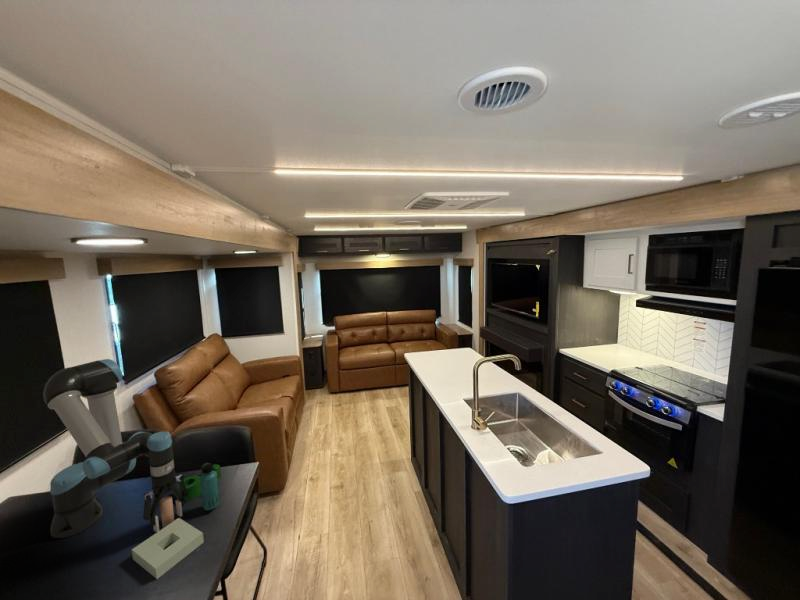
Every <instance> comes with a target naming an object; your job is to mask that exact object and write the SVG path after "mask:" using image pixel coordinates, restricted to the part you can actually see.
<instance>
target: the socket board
mask: <svg viewBox="0 0 800 600" xmlns="http://www.w3.org/2000/svg"><path fill="white" fill-rule="evenodd" d="M202 544H204V533H203V532H202V531H201V530H199V529H197V528H196V527H195V526H193V525H191V524H189V523H188V522H186V521H185V520H183V519H182V518H181V517H178V518H176V519H174V521H173V522H172V523H170V524H169V525H167V526H166V527H164V528H163V527H162V528H161V529H159V532H155V533H154V534H152V535H151V536H150V537H148V538H147V539H145V540H144V541H142V542H141V543H139V544H138V545H136V546H135V547H133V548H132V549H131V554H132V560H133V561H134V562H135V563H137V564H138V565H139V566H140V567H142V568H143V569H144V570H145V571H146V572H148V573H149V574H150V575H151V576H152V577H154V578H155V579H156V580H158V579H159V578H161V577H162V576H164V574H165V573H167V572H168V571H170V570H171V569H172V568H173V567H174V566H175V565H177V564H178V563H179V562H181V561H182V560H183V559H185V558H186V557H187V556H188V555H189V554H191V553H192V552H193V551H194V550H196V549H197V548H199V546H201V545H202Z"/></svg>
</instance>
